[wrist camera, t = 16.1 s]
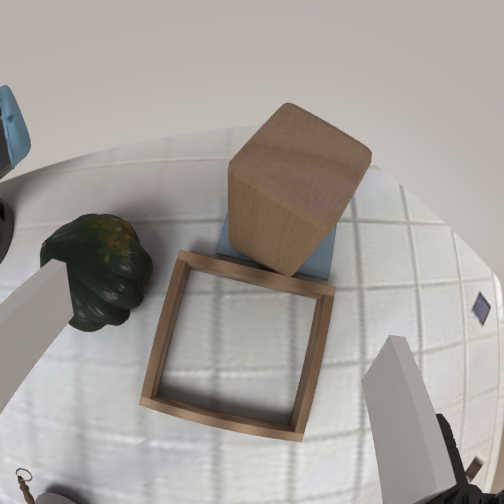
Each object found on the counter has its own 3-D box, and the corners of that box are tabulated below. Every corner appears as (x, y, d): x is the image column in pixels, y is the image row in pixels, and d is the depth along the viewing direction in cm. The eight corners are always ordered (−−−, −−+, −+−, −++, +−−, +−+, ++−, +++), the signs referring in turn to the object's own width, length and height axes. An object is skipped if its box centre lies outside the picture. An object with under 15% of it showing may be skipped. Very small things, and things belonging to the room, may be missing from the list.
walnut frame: (147, 399, 36) (139, 404, 32) (184, 258, 42) (179, 249, 38) (295, 433, 36) (301, 442, 32) (326, 292, 42) (335, 287, 38)
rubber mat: (216, 253, 42) (216, 252, 42) (243, 160, 47) (243, 158, 47) (327, 280, 42) (328, 279, 42) (339, 185, 47) (341, 183, 47)
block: (264, 192, 45) (286, 95, 26) (321, 228, 44) (378, 149, 25) (225, 244, 42) (222, 162, 23) (286, 284, 41) (333, 231, 22)
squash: (181, 308, 35) (106, 204, 26) (87, 370, 32) (1, 288, 23) (157, 256, 46) (104, 176, 37) (84, 307, 43) (25, 237, 34)
